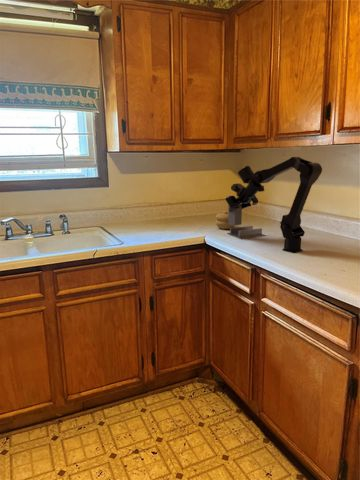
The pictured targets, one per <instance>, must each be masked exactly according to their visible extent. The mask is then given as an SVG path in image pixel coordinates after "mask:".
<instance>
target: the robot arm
mask: <svg viewBox="0 0 360 480" xmlns="http://www.w3.org/2000/svg"><path fill="white" fill-rule="evenodd" d="M292 169H294V170H296V171H297V172H299V185H298V188H297V191H296V194H295V196H294V198H293V201H292V204H291V208H290V209H289V212H288V214H283V215H282V217H281V220H280V222H279V228H280V230H281V233H282V238H284V240H283V241H284V243H283V248H282V249H281V250H282V251H284V252H285V251H286V252H289V253H293V254H295V253H299V252H303V251H304V250H303V249H302V237H304V236H305V233H306V232H305V230H304V229H303V228H302V226H301V223H302V218H301V215H302V212H303V209H304V207H305V204H306V202H307V199H308V197H309V194H310V191H311V188H312V186H313V185H314V184H315V183H316V182H317V180H319V178H320V176H321V174H322V173H323V167H322V165H321V163H319V162H313V161H310V160H308V159H304V158H301V157H300V156H292V157H290V158H289V159H286V160H284V161H283V162H280V163H278V164H276V165H274V166H272V167H270V168H265V169H260V170H258V171H257V170H256V171H255V172H254V171H253V170H252V168H251V166H250V165H246V166H245V167H243V168H241V169H240V170H239V171H238V172H237V175H238V177H239V178H240V180H241V181H242V182H243V184H247V185H246V186H244V185H243V184H241V183H239V182H238V183H233V184H232V185H231V187H230V190H231V191H233V192H235V193H236V194H235V195H227V196H226V197H225V199H224V200H225V201H226V203H227V205H228V204H229V206H230V208H229V212H232V211H234V210H236V209H238V208H239V205H240V204H241V203H242V210H243V209H246V208H249V207H252V206H256V205H257V204H258V203H259V199H258V198H257V193H258V192H260V193H261V192H265V185H262V184H268V183H269V182H271V181H272V180H274V179H275V178H276V177H277V176H279V175H281V174H283V173H285V172H288V171H289V170H292ZM235 196H237V197H235ZM236 198H237V199H236ZM251 202H252V203H251Z"/></svg>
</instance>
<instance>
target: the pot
mask: <svg viewBox="0 0 360 480" xmlns="http://www.w3.org/2000/svg"><path fill="white" fill-rule="evenodd" d="M215 219H216V220H215V225H216V227H217V228H219V229H222V230H230V228H235V226H233V225H228V210H225V211H224V212H223V211H221V212H218V213H217V214H216V215H215Z"/></svg>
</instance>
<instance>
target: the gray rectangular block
mask: <svg viewBox="0 0 360 480" xmlns="http://www.w3.org/2000/svg"><path fill="white" fill-rule="evenodd" d="M235 198H236V199H237V198H238V197H235ZM227 205H228V209H227V212H228V225H233V226H234V227H237V226H240V225H242V219H243V218H242V216H243V211H242V210H243V209H242V203H241V204H240V205H239V208H238V209H236V210H234V211H232V212H229V208H230V206H229V204H228V203H227Z"/></svg>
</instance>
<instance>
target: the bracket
mask: <svg viewBox="0 0 360 480" xmlns="http://www.w3.org/2000/svg"><path fill="white" fill-rule="evenodd" d="M227 235H229V236H232V237H235V238H237V239H241V240H244V239H250V238H258V237H265V236H266V235H265V234H264V233H263V229H262V227H261V228H254V226H253V225H246V226H234V227H233V228H230V229H229V232H227Z"/></svg>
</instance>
